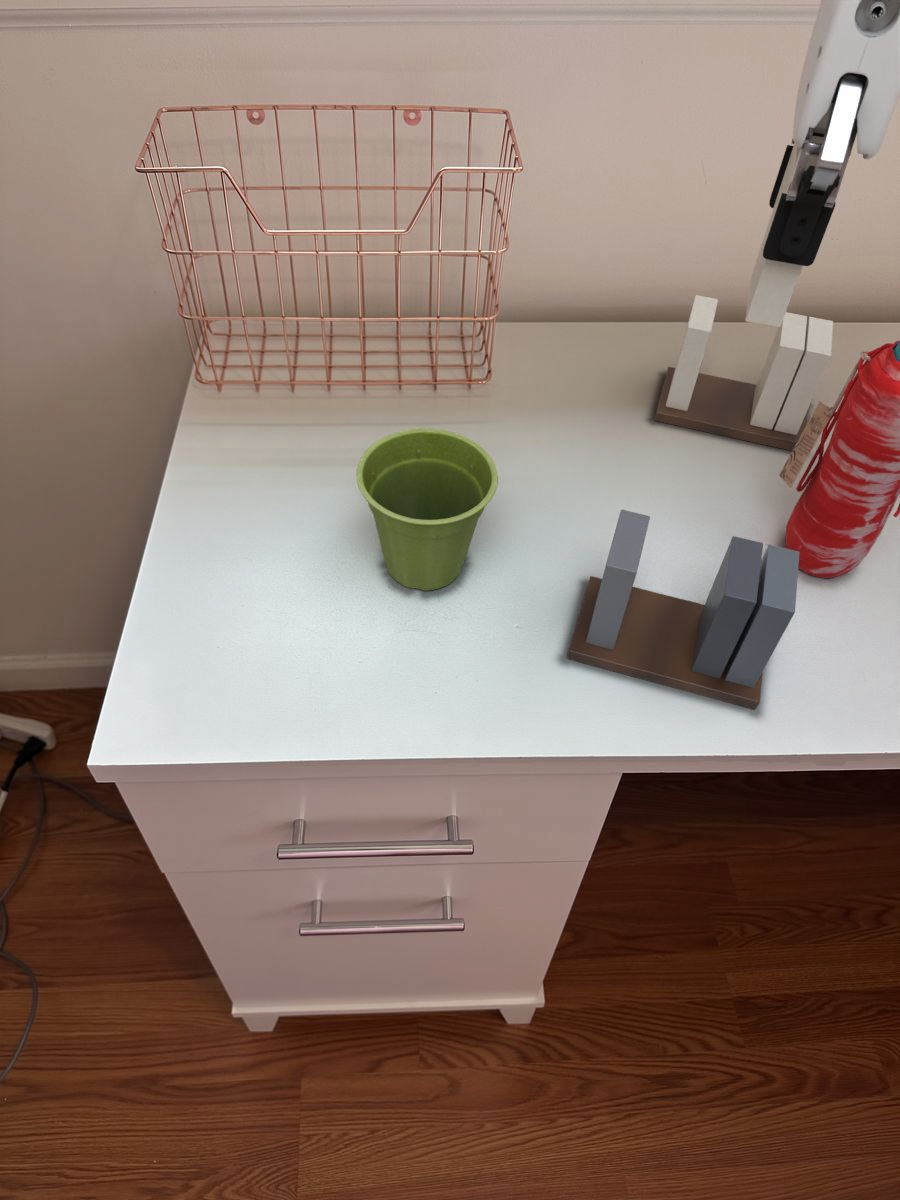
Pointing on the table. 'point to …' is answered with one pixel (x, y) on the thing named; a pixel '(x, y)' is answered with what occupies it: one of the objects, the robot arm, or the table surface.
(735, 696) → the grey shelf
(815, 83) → the robot arm
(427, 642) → the table surface
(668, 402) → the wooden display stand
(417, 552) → the plant pot
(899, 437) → the water bottle
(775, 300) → the beige box
